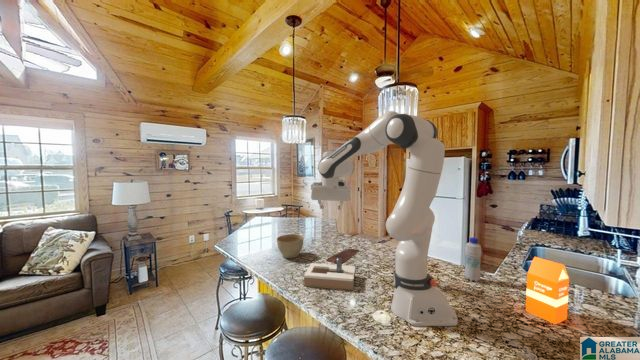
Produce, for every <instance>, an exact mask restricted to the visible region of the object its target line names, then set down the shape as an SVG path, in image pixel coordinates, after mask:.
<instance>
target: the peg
mask: <svg viewBox="0 0 640 360" xmlns="http://www.w3.org/2000/svg"><path fill="white" fill-rule="evenodd" d="M336 265H337V273H342V265H343V263H342V258H337V264H336Z"/></svg>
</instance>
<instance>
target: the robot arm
mask: <svg viewBox="0 0 640 360" xmlns="http://www.w3.org/2000/svg"><path fill="white" fill-rule="evenodd" d="M438 132H439V131H438V127H437V126H436V125H435V123H433V122H432V121H430V120H429V119H425V118H421V117H420V116H417V115H413V114H412V115H411V114H408V113H398V112H396V111H394V110H389V111H387V112H385V113H384V114H382V115H380V116H379V117H378V118H376V119H375V120H374V121H373V122H372V123H371V124H370V125H368V126H367V127H366V128H365V129H364V130H362V131H361V132H360V133H358V134H356V135H355V136H354V137H352V138H350V139H349V140H347V141H346V142H344V143H343V144H342V145H340V147H338V148H337V149H335V150H333V149H332V150H327V151H324V152H323V154H322V157H321V158H320V160H319V162H318V166H317V169H318V172H319V174H320V175H321V182H316V181H315V182H313V183H311V184H310V190H311V194H310V198H311V200H312V201H317V204H318V205H319V210H324V204H322V203H321V202H322V201H329V202H330V201H334V202H335V201H338V202H340V205H337V208H338V210H339V211H340V210H341V211H342V205H343V204H344V202H349V201H351V191H350V187H349V186H348V185H349V183H348V181H346V180H344V179H341V178H346V177H350V176H351V175H352V174H353V173H354V170H355V163H354V161H353V159H352V158H353V157H355V156H360V155H367V154H375V153H377V152H379V151H382V150H383V149H385V148H386V147H387V146H388V145H390V144H391V143H392V144H394V145H397V146H399V148H402V149H403V150H406V149H408V151H409V153H410V154H409V155H410V157H409V161H408V165H407V171H406V174H405V177H404V182H403V186H402V189H401V192H400V194H399V196H398V198H397V201H396V202H395V205H394V208H393V209H392V212H391V213H390V215H389V216H388V217H387V219H386V221H385V229H386V232H387V234H388V235H389V237H391V238H392V239H393V240H395V241H398V244H397V246H396V249H395V260H394V261H395V266H394V267H395V270H394V273H393V286H394V289H393V298H392V301H391V304H390V310H391V312H392V313H393V314H395V316H397V317H399V318H400V319H402V320H404V321H406V322H408V324H410V325H411V326H414V327H438V326H439V327H443V326H444V327H449V326H450V327H451V326H452V327H455V326H457V325H458V315H457V312H456V311H455V309H454V308H453V306H451V305H450V302H449V299H448V297H447V295H446V294H445V293H444V292H443V291H442V290H441V289H439V288H438V287H437V285H438V284H437V281H436V280H435V279H434V278H433V276H432V275H431V273H428V259H429V257H428V254H429V247H430V243H431V240H432V239H431V238H432V232H433V226H434V223H435V220H436V219H435V218H436V217H435V213H434V211H433V210H432V209H431V208H430V207H431V204H432V203H433V201H434V199H435V198H436V196H437V195H436V194H437V191H438V187H439V184H440V181H441V176H442V173H443V168H444V162H445V151H446V149H445V144H444V143H443V142H442V141H441V140H439V139H438Z"/></svg>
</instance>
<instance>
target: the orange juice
mask: <svg viewBox="0 0 640 360" xmlns="http://www.w3.org/2000/svg"><path fill="white" fill-rule="evenodd" d="M526 275H527V277H526V289H525V291H526V292H525V294H526V295H525V296H526V297H525V298H526V299H525V312H528V313H529V314H531V315H533V316H536V317H538V318H540V319H542V320H545V321H547V322H548V323H550V324H553V325H557V324H560V323H562V322H564V321H565V320H567V319H568V305H569V304H568V303H569V287H570V277H569V275H568V272H567V270H566V266H565V264H562V263H559V262H555V261H552V260H548V259H545V258H541V257H538V256H534V257H533V258H532V262H531V263H530V266H529V268H528V271H527V274H526Z"/></svg>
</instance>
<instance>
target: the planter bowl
mask: <svg viewBox="0 0 640 360" xmlns="http://www.w3.org/2000/svg"><path fill="white" fill-rule="evenodd" d="M304 239H305V238H304V236H303V235H301V234H283V235H280V236H278V237H276V243H277V248H278V250H279V252H280V253H281V255H282V257H283V258H286V259H294V258H298V256H299V254H300V253H301V251H302V248H303V245H304Z"/></svg>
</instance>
